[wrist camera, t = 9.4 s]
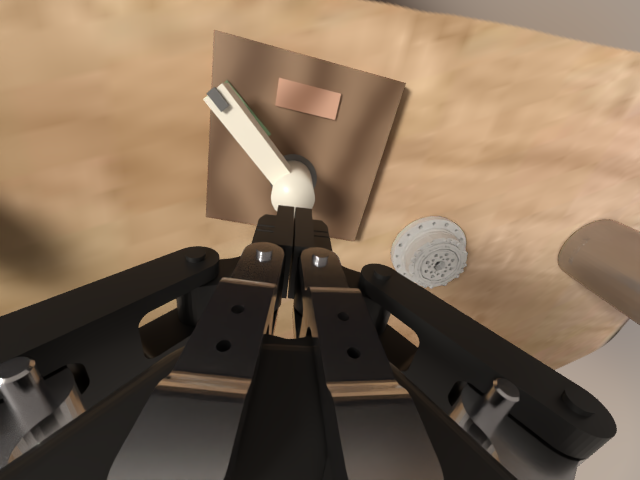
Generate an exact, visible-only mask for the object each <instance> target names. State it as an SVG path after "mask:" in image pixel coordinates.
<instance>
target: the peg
mask: <svg viewBox="0 0 640 480" xmlns="http://www.w3.org/2000/svg"><path fill="white" fill-rule="evenodd" d="M207 95H208V96H206V97H205V98H204V99H203V100H204V101H205V102H206V104H207V105H208V106H209V107H210V108H211V110H212V111H213V112H214V113H215V115H216V116H217V117H218V118H219V120H220V121H221V122H222V123H223V124H224V126H225V127H226V128H227V129H228V131H229V132H230V133H231V134H232V136H233V137H234V138H235V139H236V141H237V142H238V143H239V144H240V145H241V147H242V148H243V149H244V150H245V152H246V153H247V154H248V155H249V157H250V158H251V159H252V160H253V161H254V163H255V164H256V165H257V166H258V168H259V169H260V170H261V171H262V173H263V174H264V175H265V176H266V178H267V179H268V180H269V181H270V182H271V184H272V185H273V188H272V193H271V202H272V205H273V207H274V209H275V210H276V211H277V210H278V205H283V206H292V207H294V216H295V208H296V207H301V208H309V209H312V207H313V205H314V202H315V194H314V189H313V183H312V178H311V173H310V171H309V169H308V168H307V166H306V165H304V164H303V163H301V162H299V161H294V160H291V161H286V159H285V158H284V157H283V155H282V154H281V153H280V151H279V150H278V149H277V147H276V146H275V145H274V143H273V142H272V141H271V139H270V138H269V137H268V135H267V134H266V133H265V131H264V130H263V129H262V127H261V126H260V124H259V123H258V122H257V120H256V119H255V118H254V116H253V115H252V114H251V112H250V111H249V110H248V108H247V107H246V106H245V104H244V103H243V102H242V100H241V99H240V98H239V96H238V95H237V94H236V92H235V91H234V90H233V88H232V87H231V86H230V84H229V83H222V84H220V85H219V86H218V87H217V88H216V87H213V88H212V89H211V90H210V91H209V92H208V93H207Z"/></svg>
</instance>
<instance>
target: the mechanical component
mask: <svg viewBox="0 0 640 480" xmlns="http://www.w3.org/2000/svg"><path fill="white" fill-rule="evenodd" d="M465 249H466V238H465V235H464V232H463V231H462V230H461V228H460V227H459V226H458V225H457V224H456V223H454V222H453V221H451V220H449V219H447V218H444V217H440V216H430V217H424V218H421V219H418V220H416V221H414V222H412V223H410V224H409V225H407V226H406V227H405V228H404V229H403V230H402V231H401V232H400V233H399V234H398V235H397V237H396V239H395V241H394V242H393V245H392V249H391V260H392V263H393V265H394V267H395V269H396V271H397V272H398V273H400V274H402V275H403V276H405V277H406V278H408V279H409V280H411V281H413V282H416V283H417V284H418V285H419V286H420V285H421V286H423V287H424V288H426V287H430V288H433V287H436V286H440V285H443V286H446V285H447V283H448V282H450V281H451V280H453V279H454V278H458V277H459V274H460V273H462V272H463V271H464V270H463V268H464V267H466V266H467V264H466V261H467V254H468V252H467V251H466V250H465Z"/></svg>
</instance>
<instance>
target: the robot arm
mask: <svg viewBox="0 0 640 480" xmlns="http://www.w3.org/2000/svg"><path fill="white" fill-rule="evenodd" d="M329 237H330V236H329V231H328V226H327V225H326V224H325V223H324V222H323V221H322V220H314V219H313V218H312V209H309V208H301V207H296V208H295V216H294V207H292V206H283V205H278V210H277V215H269V214H265V215H263V216H262V217H260V218H259V220H258V224H257V227H256V230H255V234H254V237H253V240H252V244H250V245H248V246H246V247H245V249H244V251H243V253H242V255H241V256H239V257H236V258H230V259H220V260H219V254H218V253H217V252H216V251H215V250H213V249H211V248H208V247H201V246H196V247H188V248H184V249H181V250H179V251H176V252H173V253H171V254H168V255H165V256H162V257H160V258H157V259H154V260H152V261H149V262H146V263H144V264H141V265H138V266H136V267H133V268H130V269H127V270H125V271H122V272H119V273H117V274H114V275H111V276H109V277H106V278H103V279H101V280H98V281H95V282H92V283H90V284H87V285H84V286H82V287H79V288H76V289H74V290H71V291H68V292H66V293H63V294H60V295H57V296H55V297H52V298H49V299H47V300H44V301H41V302H39V303H36V304H33V305H31V306H28V307H25V308H22V309H20V310H17V311H14V312H12V313H9V314H6V315H4V316H1V317H0V480H574V478H575V474H576V469H577V467H578V466H579V465H580V464H581V463H583V462H584V461H585V460H586V459H587V458H589V457H590V456H591V455H592V454H593V453H595V452H596V451H597V450H598V449H599V448H600V447H602V446H603V445H604V444H605V443H606V442H607V441H609V440H610V439H611V438H612V437H613V436H615V434H616V431H617V428H616V424H615V421H614V419H613V417H612V416H611V414H610V413H609V411H608V410H607V409H606V408H605V407H604V406H603V405H602V403H601V402H599V401H598V400H597V399H596V398H595V397H594V396H593V395H592V394H590V393H589V392H588V391H586V390H585V389H583V388H582V387H580V386H579V385H577V384H575V383H574V382H572V381H571V380H569V379H567V378H566V377H564V376H562V375H561V374H559V373H558V372H556V371H555V370H553V369H551V368H550V367H548V366H547V365H545V364H543V363H542V362H540V361H539V360H537V359H536V358H534V357H532V356H531V355H529V354H528V353H526V352H524V351H523V350H521V349H520V348H518V347H516V346H515V345H513V344H512V343H510V342H508V341H507V340H505V339H504V338H502V337H500V336H499V335H497V334H496V333H494V332H492V331H491V330H489V329H488V328H486V327H484V326H483V325H481V324H480V323H478V322H476V321H475V320H473V319H472V318H470V317H469V316H467V315H465V314H464V313H462V312H461V311H459V310H457V309H456V308H454V307H453V306H451V305H449V304H448V303H446V302H445V301H443V300H441V299H440V298H438V297H437V296H435V295H433V294H432V293H430V292H429V291H427V290H425V289H424V288H422V287H421V286H419V285H417V284H416V283H414V282H413V281H411V280H409V279H408V278H406V277H405V276H403V275H402V274H400V273H398V272H397V271H395V270H394V269H392V268H390V267H388V266H385V265H381V264H368V265H365V266H364V267H363V268H362V270H361V272H357V271H354V270H351V269H348V268H345V267H343V266H342V265H341V263H340V260H339V257H338V256H337V255H336V254H335V253H334V252H332V247H331V242H330V238H329ZM558 263H559V266H560V268H561V269H562V270H563V271H564V272H566V273H567V274H568V275H570V276H571V277H573V278H574V279H575V280H577V281H578V282H580V283H581V284H582V285H584V286H585V287H587V288H588V289H589V290H591V291H592V292H594V293H595V294H596V295H598V296H599V297H601V298H602V299H603V300H605V301H606V302H608V303H609V304H611V305H612V306H613V307H615V308H616V309H618V310H619V311H620V312H622V313H623V314H625V315H626V316H628V317H629V318H630V319H632V320H633V321H635V322H636V323H637V324H639V325H640V231H638V230H635V229H633V228H631V227H628V226H626V225H624V224H622V223H619V222H617V221H614V220H599V221H595V222H593V223H590V224H588V225H586V226H584V227H582V228H581V229H579V230H578V231H576V232H575V233H574V234H573V235H572V236H571V237H569V239H568V240H567V241H566V242H565V243H564V245H563V247H562V248H561V250H560V253H559V257H558ZM288 280H289V289H288V298H292V299H294V305H293V312H292V319H293V333H294V339H285V338H281V337H277V336H274V331H275V326H276V321H277V316H278V309H279V307H280V305H281V299H282V298H286V296H287V288H288ZM174 299H176V300H177V308H176V309H174V310H172V311H170V312H168V313H166V314H164V315H162V316H160V317H159V318H157V319H155V320H153V321H151V322H149V323H147V324H145V325H144V326H142V327H140V328H138V326H139V323H140V321H141V319H142V318H143V317H144V316H145V315H146V314H147V313H148V312H150V311H152V310H154V309H156V308H158V307H160V306H162V305H164V304H166V303H168V302H170V301H172V300H174ZM390 314H392V315H394V316H395V317H396V318H398V319H399V320H400V321H402V322H403V323H404V324H406V325H407V326H408V327H410V328H411V329H412V330H414V331H415V333H416V334H417V336H418V338H419V342H420V344H419V347H418V348H417V347H416V346H415V345H414V344H412V343H411V342H410V341H408V340H407V339H406V338H405V337H403V336H402V335H401V334H400V333H398V332H397V331H396V330H394V329H393V328H392V327H391V326H389V325H388V324H387V322H388V319H389V317H390Z"/></svg>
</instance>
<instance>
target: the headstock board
mask: <svg viewBox="0 0 640 480" xmlns="http://www.w3.org/2000/svg"><path fill="white" fill-rule="evenodd" d="M222 83H229V84H230V86H231V87H232V88H233V90H234V91H235V92H236V94H237V95H238V96H239V98H240V99H241V100H242V102H243V103H244V104H245V106H246V107H247V108H248V110H249V111H250V112H251V114H252V115H253V116H254V118H255V119H256V120H257V122H258V123H259V124H260V126H261V127H262V129H263V130H264V131H265V133H266V134H267V135H268V137H269V138H270V139H271V141H272V142H273V143H274V145H275V146H276V147H277V149H278V150H279V151H280V153H281V154H282V155H283V157H284V158H285V159H286V161H291V160H294V161H299V162H301V163H303V164H304V165H306V166H307V168H308V169H309V171H310V173H311V178H312V183H313V189H314V194H315V202H314V205H313V207H312V218H313V219H314V220H322V221H323V222H324V223H325V224H326V225H327V226H328V231H329V236H330V238H336V239H342V240H348V241H355V238H356V235H357V231H358V228H359V225H360V222H361V219H362V216H363V213H364V210H365V207H366V204H367V201H368V198H369V195H370V192H371V189H372V185H373V182H374V179H375V176H376V173H377V170H378V167H379V164H380V161H381V158H382V155H383V152H384V149H385V146H386V143H387V139H388V136H389V133H390V130H391V127H392V124H393V121H394V118H395V115H396V112H397V109H398V106H399V103H400V100H401V97H402V93H403V90H404V87H405V84H406V83H404V82H400V81H396V80H393V79H389V78H386V77H382V76H378V75H375V74H371V73H368V72H364V71H361V70H357V69H353V68H350V67H346V66H343V65H339V64H335V63H332V62H328V61H325V60H321V59H317V58H314V57H310V56H307V55H303V54H299V53H296V52H292V51H289V50H285V49H282V48H278V47H274V46H271V45H267V44H264V43H260V42H256V41H253V40H249V39H246V38H242V37H238V36H235V35H231V34H228V33H224V32H220V31H217V30H214V41H213V65H212V88H213V87H216V88H217V87H218V86H219V85H220V84H222ZM212 88H211V89H212ZM272 188H273V185H272V184H271V182H270V181H269V180H268V179H267V178H266V176H265V175H264V174H263V173H262V171H261V170H260V169H259V168H258V166H257V165H256V164H255V163H254V161H253V160H252V159H251V158H250V157H249V155H248V154H247V153H246V152H245V150H244V149H243V148H242V147H241V145H240V144H239V143H238V142H237V141H236V139H235V138H234V137H233V136H232V134H231V133H230V132H229V131H228V129H227V128H226V127H225V126H224V124H223V123H222V122H221V121H220V120H219V118H218V117H217V116H216V115H215V113H214V112H213V111H212V110H211V111H210V134H209V157H208V180H207V203H206V217H209V218H215V219H221V220H227V221H233V222H239V223H245V224H251V225H257V224H258V220H259V218H260V217H262V216H263V215H265V214H269V215H277V211H276V210H275V209H274V207H273V205H272V202H271V193H272Z"/></svg>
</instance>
